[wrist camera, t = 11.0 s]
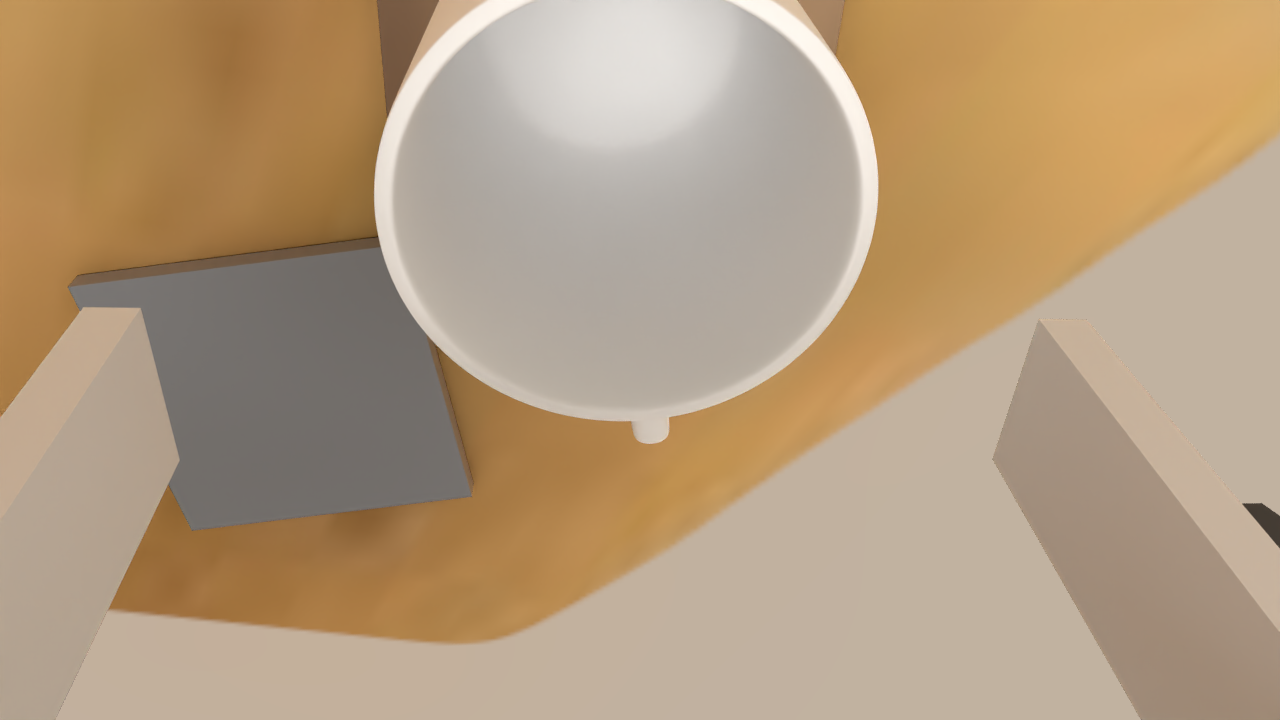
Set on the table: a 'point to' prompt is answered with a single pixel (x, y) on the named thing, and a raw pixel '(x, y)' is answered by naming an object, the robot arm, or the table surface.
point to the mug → (625, 198)
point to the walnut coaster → (413, 3)
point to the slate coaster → (292, 383)
